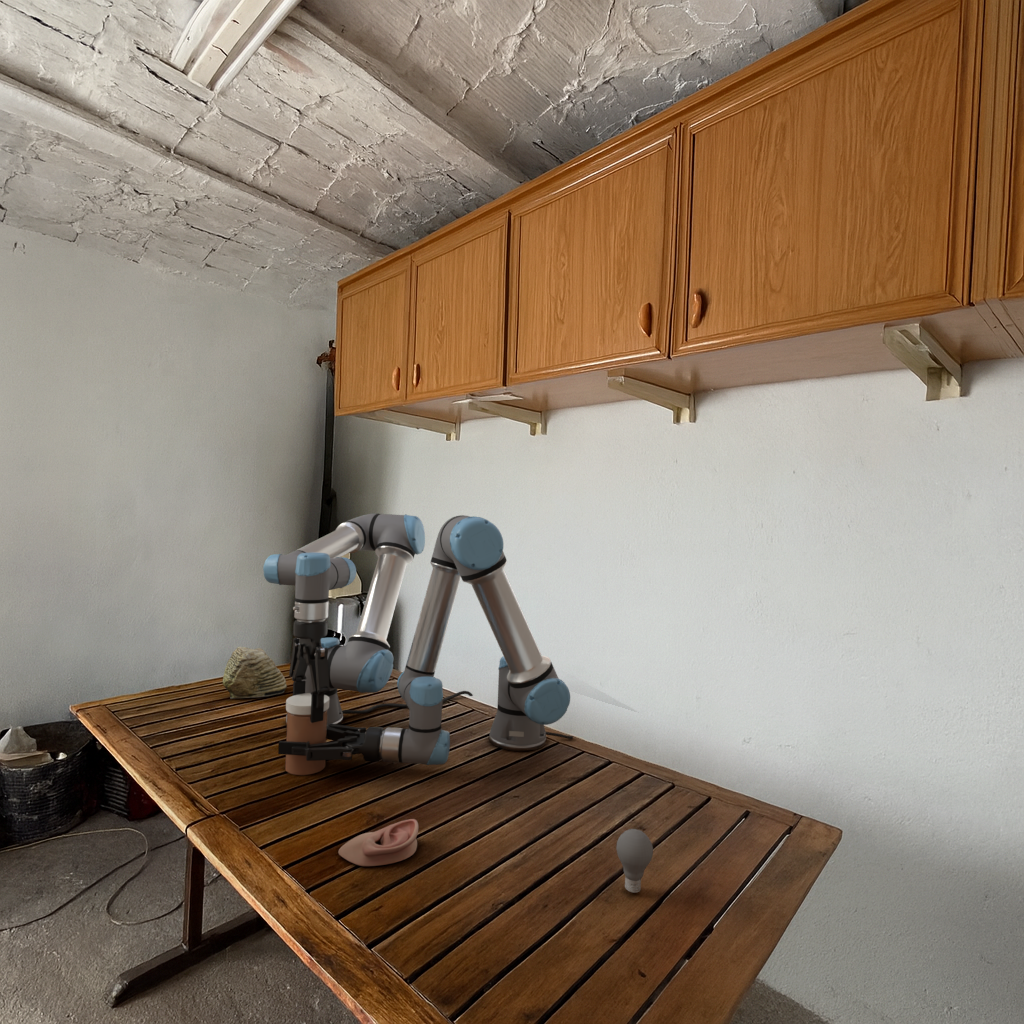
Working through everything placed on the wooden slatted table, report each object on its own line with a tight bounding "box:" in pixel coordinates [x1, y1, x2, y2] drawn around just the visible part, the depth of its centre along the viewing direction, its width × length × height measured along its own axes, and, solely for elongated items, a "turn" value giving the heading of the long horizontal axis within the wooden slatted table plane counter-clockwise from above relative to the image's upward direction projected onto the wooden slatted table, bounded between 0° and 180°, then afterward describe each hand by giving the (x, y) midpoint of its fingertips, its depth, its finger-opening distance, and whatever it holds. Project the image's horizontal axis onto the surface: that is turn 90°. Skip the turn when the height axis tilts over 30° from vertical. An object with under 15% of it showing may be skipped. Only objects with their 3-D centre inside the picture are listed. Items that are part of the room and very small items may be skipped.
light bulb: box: [615, 828, 654, 894], centre depth 106 cm, size 6×6×10 cm
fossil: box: [222, 646, 288, 699], centre depth 198 cm, size 9×18×15 cm, turn 132°
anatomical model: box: [337, 818, 419, 867], centre depth 114 cm, size 13×4×12 cm
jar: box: [284, 709, 328, 776], centre depth 148 cm, size 9×9×15 cm
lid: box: [285, 693, 329, 715], centre depth 148 cm, size 10×10×2 cm
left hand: (307, 714), depth 148 cm, fingers closed on lid, 10 cm apart
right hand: (287, 739), depth 148 cm, fingers closed on jar, 9 cm apart
